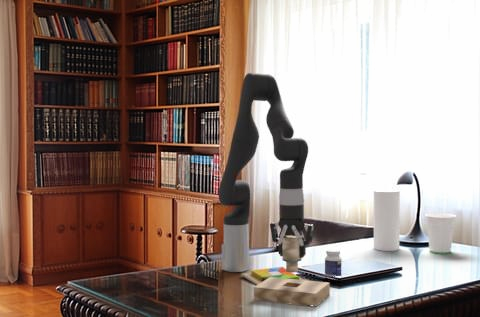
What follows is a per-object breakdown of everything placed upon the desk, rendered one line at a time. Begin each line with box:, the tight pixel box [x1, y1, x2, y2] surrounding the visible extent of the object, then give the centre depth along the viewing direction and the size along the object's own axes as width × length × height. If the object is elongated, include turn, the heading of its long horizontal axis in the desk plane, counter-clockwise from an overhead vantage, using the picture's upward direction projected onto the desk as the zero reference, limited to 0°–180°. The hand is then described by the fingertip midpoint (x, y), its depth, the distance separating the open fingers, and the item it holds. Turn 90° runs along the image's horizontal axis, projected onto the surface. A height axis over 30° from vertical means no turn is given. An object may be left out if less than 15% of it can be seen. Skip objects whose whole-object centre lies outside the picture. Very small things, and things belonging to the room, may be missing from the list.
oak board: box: [253, 277, 331, 306], centre depth 201 cm, size 20×14×4 cm
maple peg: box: [282, 235, 302, 273], centre depth 201 cm, size 6×6×10 cm
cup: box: [424, 212, 457, 255], centre depth 268 cm, size 12×12×15 cm
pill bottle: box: [324, 249, 342, 277], centre depth 225 cm, size 6×6×10 cm
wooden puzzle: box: [240, 266, 310, 286], centre depth 224 cm, size 18×19×4 cm
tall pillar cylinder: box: [373, 188, 401, 252], centre depth 276 cm, size 11×11×25 cm
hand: (292, 256), depth 201 cm, fingers closed on maple peg, 5 cm apart
